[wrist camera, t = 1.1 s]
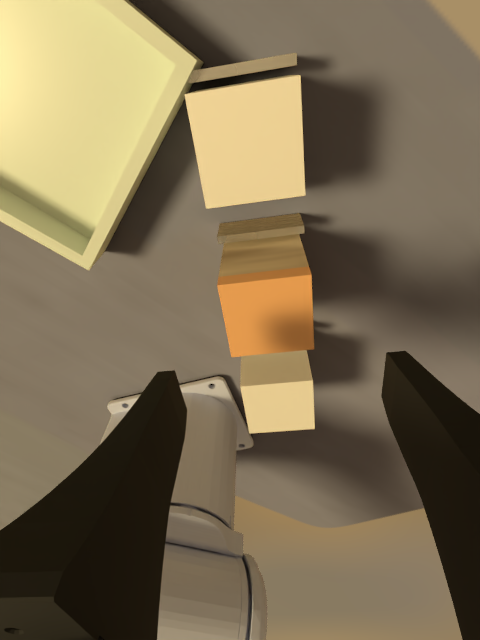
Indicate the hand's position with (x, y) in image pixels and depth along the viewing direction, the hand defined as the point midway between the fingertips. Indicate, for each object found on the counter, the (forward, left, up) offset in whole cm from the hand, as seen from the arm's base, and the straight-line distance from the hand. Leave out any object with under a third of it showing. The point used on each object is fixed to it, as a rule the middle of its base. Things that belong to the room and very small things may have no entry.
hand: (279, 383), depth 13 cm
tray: (-8, +11, -10) cm, 17 cm away
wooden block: (0, 0, -11) cm, 11 cm away
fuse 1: (+1, +7, -11) cm, 12 cm away
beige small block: (-2, -7, -11) cm, 13 cm away
